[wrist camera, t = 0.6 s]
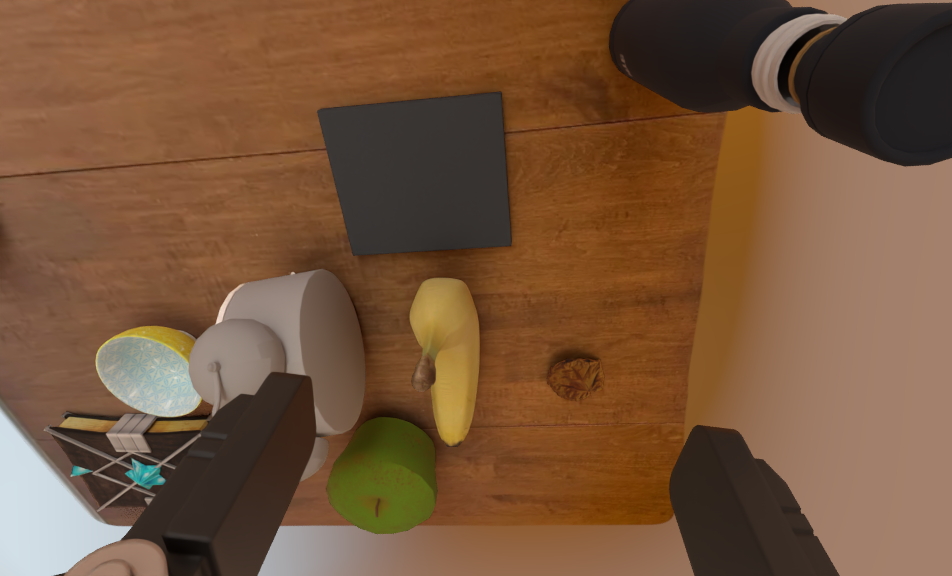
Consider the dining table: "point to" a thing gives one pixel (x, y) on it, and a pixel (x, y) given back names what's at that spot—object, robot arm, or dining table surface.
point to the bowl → (150, 370)
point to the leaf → (576, 378)
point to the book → (126, 453)
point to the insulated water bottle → (802, 67)
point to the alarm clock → (287, 349)
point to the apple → (385, 477)
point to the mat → (420, 173)
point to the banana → (447, 354)
